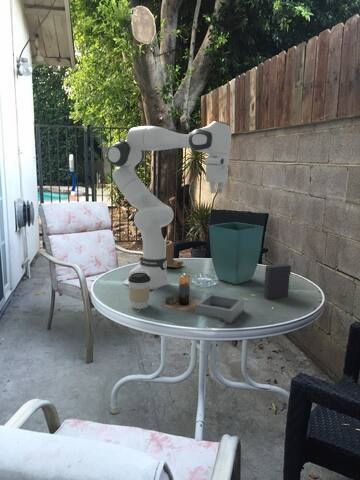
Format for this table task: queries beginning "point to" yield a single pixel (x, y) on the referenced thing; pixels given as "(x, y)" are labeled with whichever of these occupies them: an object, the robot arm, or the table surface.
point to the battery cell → (184, 289)
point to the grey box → (277, 281)
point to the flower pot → (235, 250)
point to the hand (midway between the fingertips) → (216, 193)
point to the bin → (223, 313)
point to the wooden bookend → (171, 256)
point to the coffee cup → (139, 290)
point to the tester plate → (173, 302)
